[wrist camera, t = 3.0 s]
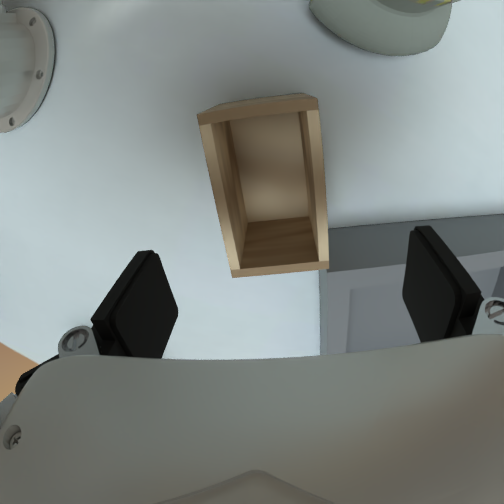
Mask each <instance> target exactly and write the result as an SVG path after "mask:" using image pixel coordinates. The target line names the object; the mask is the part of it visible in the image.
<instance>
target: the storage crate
mask: <svg viewBox="0 0 504 504" xmlns="http://www.w3.org/2000/svg"><path fill="white" fill-rule="evenodd" d="M425 225H430V226H431V227H432V228H433V229H434V230H435V232H436V233H437V234H438V235H439V236H440V238H441V239H442V240H443V241H444V242H445V244H446V245H447V246H448V247H449V249H450V250H451V251H452V252H453V254H454V255H455V256H456V258H457V259H458V260H459V261H460V263H461V264H462V265H463V267H464V268H465V269H466V271H467V272H468V273H469V275H470V276H471V278H472V279H473V280H474V282H475V283H476V285H477V286H478V287H479V289H480V290H481V295H482V297H483V298H484V300H485V299H487V298H490V297H499V298H503V299H504V214H497V215H484V216H471V217H458V218H445V219H433V220H421V221H409V222H398V223H387V224H376V225H365V226H354V227H343V228H333V229H328V246H329V269H322V270H319V291H320V355H329V354H340V353H350V352H359V351H367V350H375V349H383V348H390V347H397V346H404V345H410V344H416V343H421V342H420V339H419V337H418V334H417V332H416V329H415V327H414V324H413V322H412V319H411V317H410V315H409V312H408V310H407V308H406V305H405V303H404V301H403V297H402V288H403V282H404V275H405V268H406V260H407V252H408V243H409V234H410V231H412V230H414V228H415V226H425Z"/></svg>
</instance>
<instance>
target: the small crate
mask: <svg viewBox="0 0 504 504" xmlns="http://www.w3.org/2000/svg"><path fill="white" fill-rule="evenodd" d="M197 118H198V123H199V128H200V133H201V138H202V142H203V147H204V152H205V157H206V162H207V166H208V171H209V176H210V181H211V185H212V190H213V194H214V199H215V204H216V208H217V213H218V217H219V222H220V226H221V231H222V235H223V240H224V244H225V248H226V253H227V257H228V261H229V266H230V270H231V274H232V278H237V277H248V276H259V275H270V274H281V273H291V272H302V271H312V270H322V269H329V246H328V220H327V201H326V185H325V171H324V159H323V147H322V137H321V127H320V118H319V109H318V100H317V98H315V97H312V96H310V95H307V94H304V93H300V94H289V95H280V96H271V97H263V98H256V99H249V100H242V101H236V102H230V103H224V104H219V105H217V106H214V107H212V108H210V109H208V110H206V111H204V112H202V113H199V114H197Z"/></svg>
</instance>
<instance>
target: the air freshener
mask: <svg viewBox="0 0 504 504" xmlns="http://www.w3.org/2000/svg"><path fill="white" fill-rule="evenodd" d="M457 1H460V0H310V5H309V8H310V10H311V11H312V12H313V14H314V15H315V16H316V17H317V18H318V19H319V20H320V21H321V22H322V23H323V24H324V25H325V26H326V27H327V28H328V29H329V30H331V31H332V32H333V33H334V34H336V35H337V36H339V37H340V38H342V39H344V40H345V41H347V42H349V43H350V44H353V45H355V46H357V47H359V48H361V49H364V50H367V51H370V52H373V53H377V54H383V55H389V56H407V55H415V54H419V53H422V52H425V51H428V50H429V49H431V48H433V47H435V46H436V45H437V44H438V43H439V41H440V40H441V38H442V36H443V34H444V32H445V30H446V27H447V24H448V21H449V18H450V13H451V8H452V3H454V2H457Z"/></svg>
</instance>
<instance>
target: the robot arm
mask: <svg viewBox="0 0 504 504" xmlns="http://www.w3.org/2000/svg"><path fill="white" fill-rule="evenodd" d="M54 54H55V49H54V37H53V33H52V29H51V26H50V24H49V22H48V20H47V19H46V17H45V16H44V15H43V14H42V13H41V12H39V11H38V10H36V9H32V8H22V7H19V8H15V9H11V10H9V11H7V12H6V7H5V6H3V5H2V0H0V133H6V132H9V131H12V130H14V129H16V128H19V127H21V126H22V125H23V124H25V123H26V122H27V121H28V120H29V119H30V118H31V117H32V116H33V115H34V113H35V112H36V111H37V109H38V107H39V106H40V104H41V102H42V100H43V98H44V96H45V94H46V92H47V89H48V86H49V82H50V79H51V75H52V70H53V65H54ZM402 297H403V301H404V303H405V305H406V308H407V310H408V312H409V315H410V317H411V319H412V322H413V324H414V327H415V329H416V332H417V334H418V337H419V339H420V342H421V343H416V344H410V345H404V346H397V347H390V348H383V349H375V350H367V351H359V352H350V353H340V354H329V355H317V356H304V357H288V358H268V359H233V360H196V359H161V358H162V356H163V353H164V350H165V348H166V345H167V342H168V340H169V337H170V335H171V332H172V330H173V327H174V324H175V322H176V319H177V317H178V307H177V305H176V302H175V299H174V297H173V294H172V291H171V288H170V286H169V283H168V280H167V277H166V274H165V272H164V269H163V266H162V263H161V260H160V257H159V255H158V254H157V253H154V251H152V250H147V251H138V252H137V253H136V255H135V256H134V257H133V259H132V260H131V261H130V263H129V264H128V265H127V267H126V268H125V270H124V271H123V272H122V274H121V275H120V277H119V278H118V279H117V281H116V282H115V284H114V285H113V287H112V288H111V290H110V291H109V292H108V294H107V295H106V297H105V298H104V300H103V301H102V303H101V304H100V306H99V307H98V309H97V310H96V312H95V313H94V315H93V316H92V318H91V319H90V320H91V321H92V323H93V327H92V328H90V327H88V326H78V327H75V328H72V329H71V330H69V331H68V332H66V333H65V334H64V335H63V336H62V338H61V339H60V341H59V344H58V352H59V354H58V355H56V356H54V357H52V358H51V359H49V360H47V361H45V362H43V363H42V364H40V365H38V366H36V367H35V368H33V369H31V370H29V371H27V372H25V373H23V374H22V375H21V376H20V378H19V380H18V382H17V384H16V388H15V392H16V394H15V395H14V394H13V393H10V394H9V395H8V396H7V397H6V398H5V399H4V400H3V401H1V402H0V504H504V299H503V298H499V297H490V298H487V299H485V300H484V298H483V297H482V295H481V290H480V289H479V287H478V286H477V285H476V283H475V282H474V280H473V279H472V278H471V276H470V275H469V273H468V272H467V271H466V269H465V268H464V267H463V265H462V264H461V263H460V261H459V260H458V259H457V258H456V256H455V255H454V254H453V252H452V251H451V250H450V249H449V247H448V246H447V245H446V244H445V242H444V241H443V240H442V239H441V238H440V236H439V235H438V234H437V233H436V232H435V230H434V229H433V228H432V227H431V226H430V225H425V226H415V228H414V230H412V231H410V234H409V243H408V252H407V260H406V268H405V275H404V282H403V288H402Z"/></svg>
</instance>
